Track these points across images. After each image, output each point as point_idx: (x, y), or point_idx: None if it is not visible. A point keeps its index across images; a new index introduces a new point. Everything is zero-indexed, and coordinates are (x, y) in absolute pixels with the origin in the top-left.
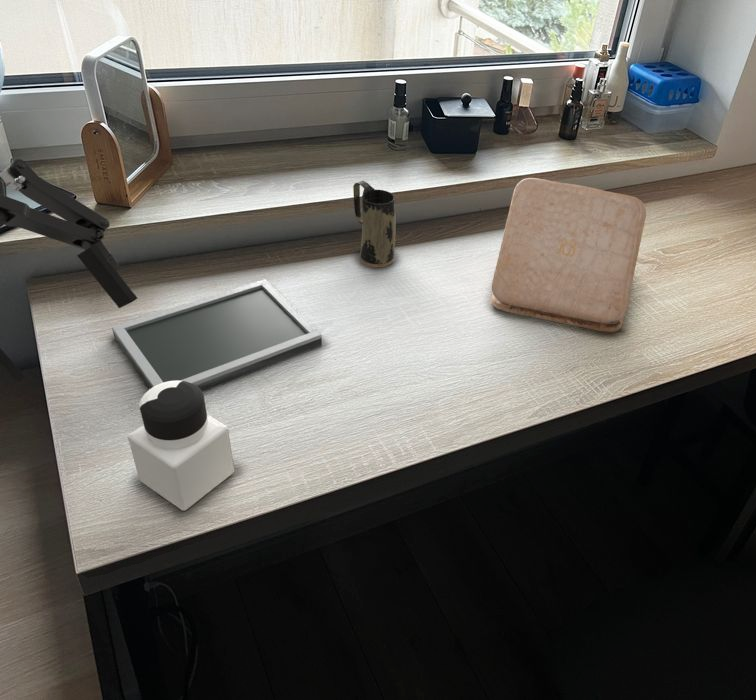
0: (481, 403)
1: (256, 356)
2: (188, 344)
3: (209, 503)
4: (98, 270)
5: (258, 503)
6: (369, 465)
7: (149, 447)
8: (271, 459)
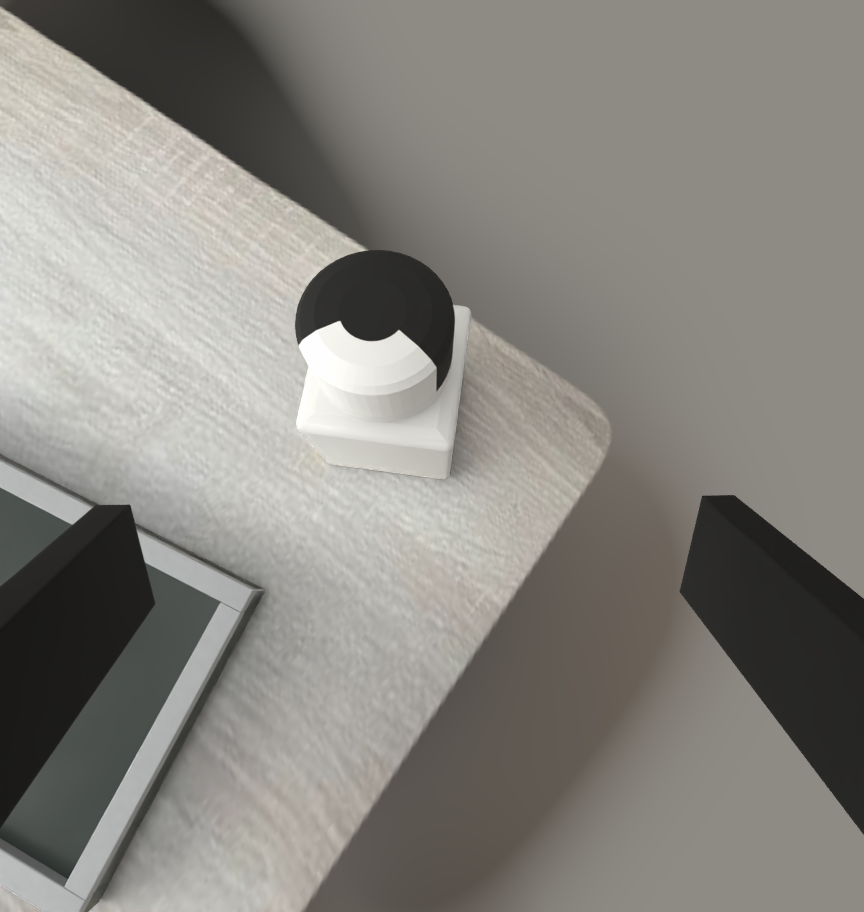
0: (7, 100)
1: (42, 491)
2: None
3: None
4: (11, 709)
5: None
6: (230, 183)
7: (456, 379)
8: (292, 320)
